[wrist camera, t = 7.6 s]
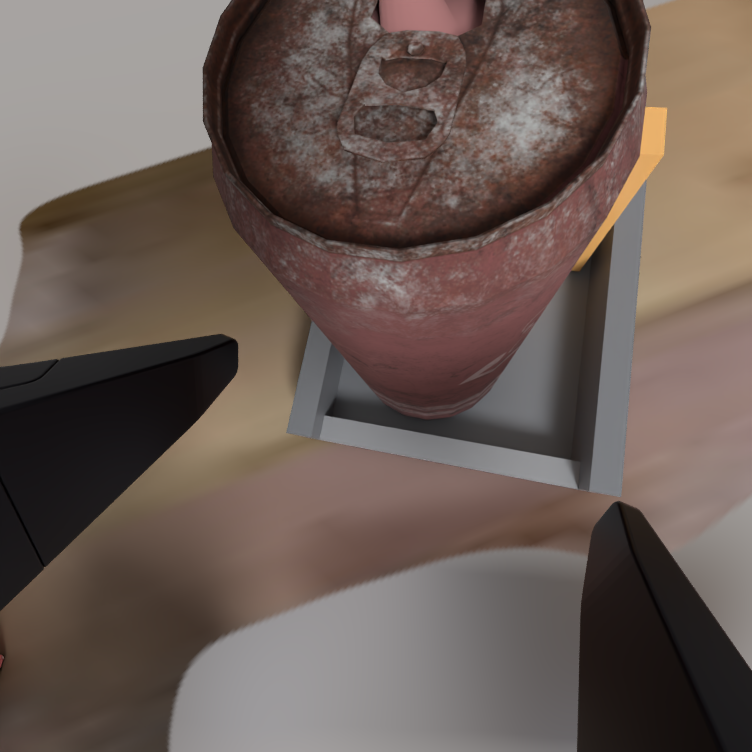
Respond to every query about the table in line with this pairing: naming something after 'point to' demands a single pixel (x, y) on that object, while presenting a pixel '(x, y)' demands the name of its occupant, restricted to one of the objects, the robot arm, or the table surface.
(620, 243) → the grey shallow open box
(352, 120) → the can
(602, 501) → the table surface
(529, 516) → the table surface
